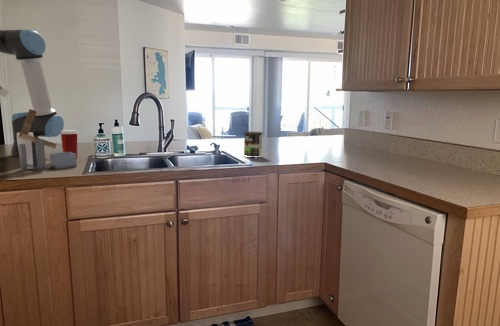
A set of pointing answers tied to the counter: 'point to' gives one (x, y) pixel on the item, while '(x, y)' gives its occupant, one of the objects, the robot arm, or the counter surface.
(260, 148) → the coffee can
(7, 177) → the counter surface
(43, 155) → the pivot stand
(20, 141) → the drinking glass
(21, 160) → the post
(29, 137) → the lever
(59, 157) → the grey rounded block
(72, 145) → the coffee cup
